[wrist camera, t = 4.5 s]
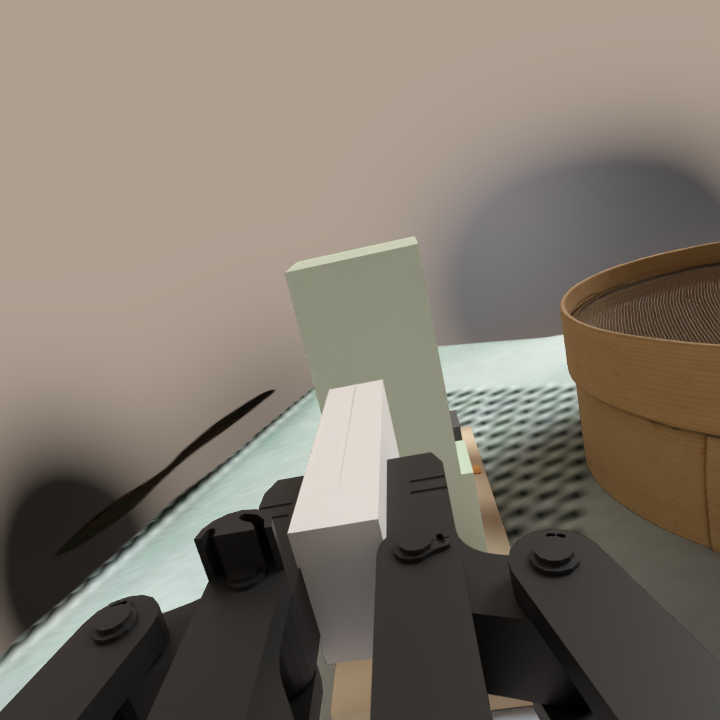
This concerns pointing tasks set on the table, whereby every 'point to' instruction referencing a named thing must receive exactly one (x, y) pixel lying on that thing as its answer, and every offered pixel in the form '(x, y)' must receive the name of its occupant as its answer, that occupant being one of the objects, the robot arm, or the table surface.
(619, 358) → the steamer basket
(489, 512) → the pipe stand
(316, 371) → the pale green upright panel
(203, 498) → the table surface
